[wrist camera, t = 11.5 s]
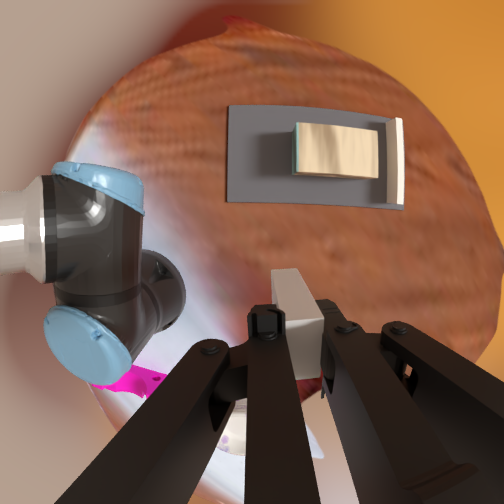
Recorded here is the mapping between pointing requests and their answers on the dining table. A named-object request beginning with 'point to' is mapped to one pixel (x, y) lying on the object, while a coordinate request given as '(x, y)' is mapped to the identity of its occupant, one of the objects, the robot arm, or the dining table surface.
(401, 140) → the stop rail
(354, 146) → the beech block
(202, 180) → the dining table surface
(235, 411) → the paper bowls
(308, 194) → the gray ramp
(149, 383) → the toy block
